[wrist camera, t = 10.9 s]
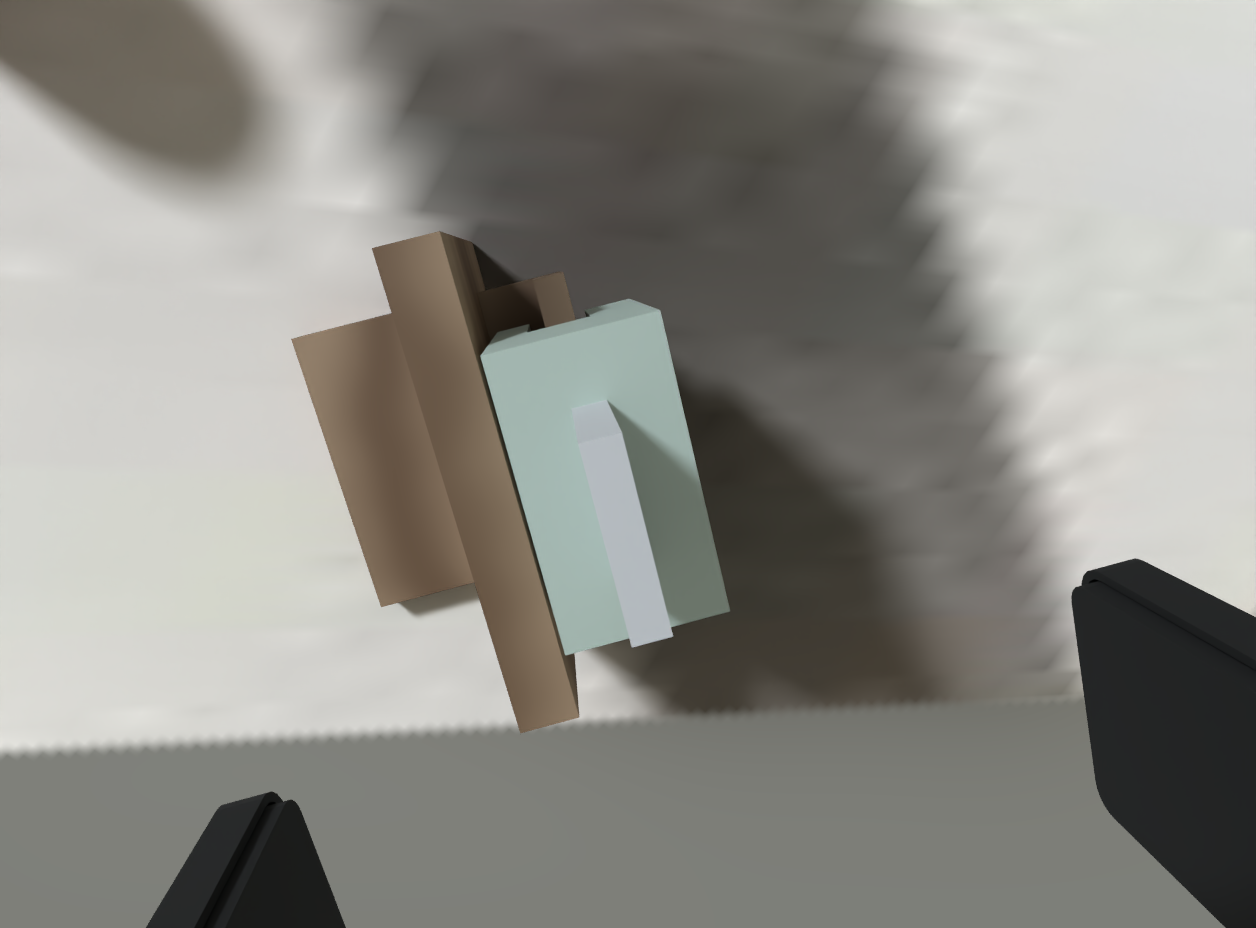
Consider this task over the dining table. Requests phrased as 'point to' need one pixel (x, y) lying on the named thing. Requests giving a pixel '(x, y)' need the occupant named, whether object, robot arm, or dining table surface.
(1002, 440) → the dining table surface
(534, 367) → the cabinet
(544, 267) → the dining table surface
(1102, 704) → the robot arm
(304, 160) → the dining table surface
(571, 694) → the brown boxy piece
